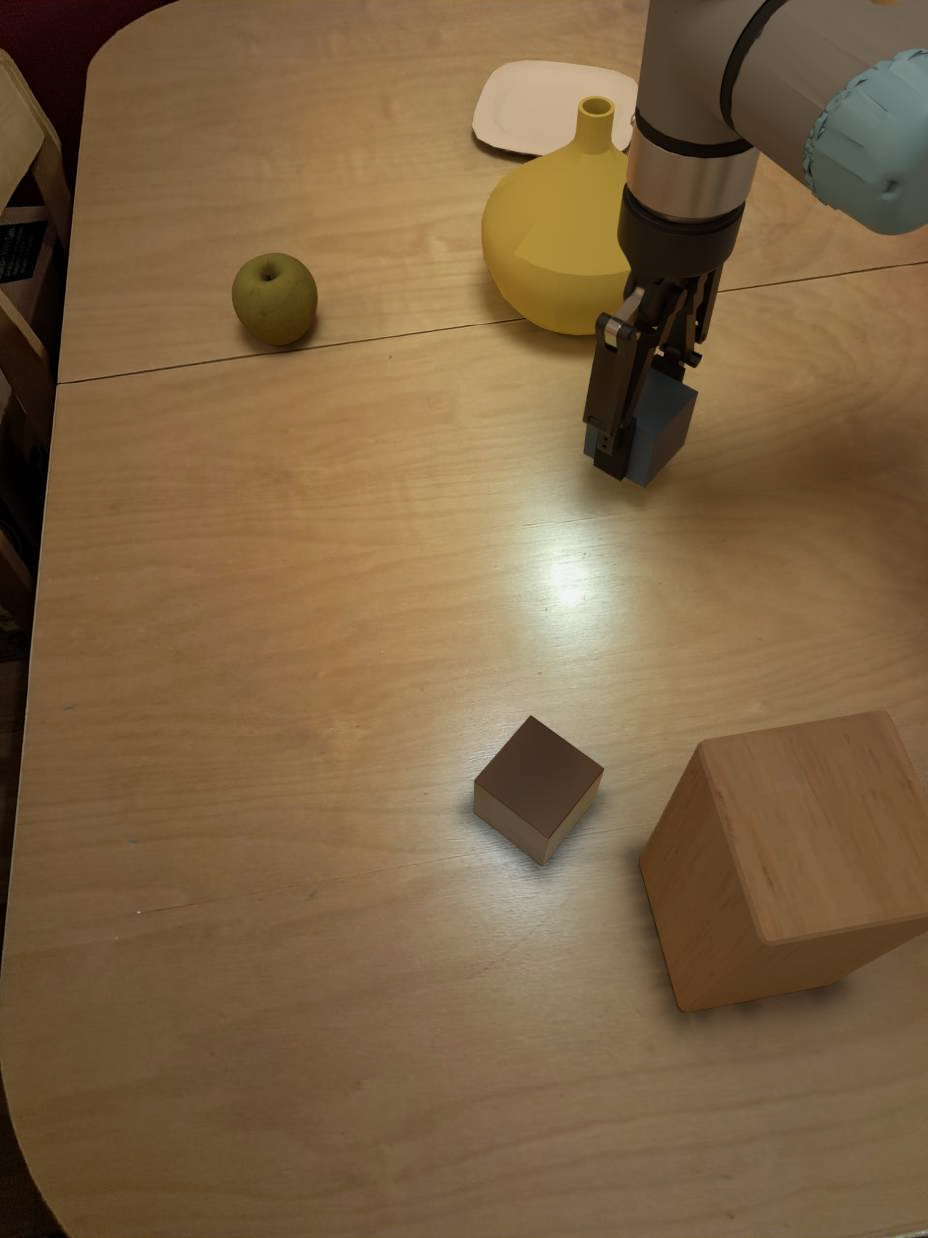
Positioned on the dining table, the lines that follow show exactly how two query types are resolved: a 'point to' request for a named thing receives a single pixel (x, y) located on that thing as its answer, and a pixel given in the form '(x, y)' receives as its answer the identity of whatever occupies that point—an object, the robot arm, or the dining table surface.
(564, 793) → the walnut block
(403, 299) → the dining table surface
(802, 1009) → the dining table surface
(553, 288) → the vase
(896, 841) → the wooden block
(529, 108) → the plate
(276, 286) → the apple
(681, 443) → the slate block
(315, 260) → the dining table surface
